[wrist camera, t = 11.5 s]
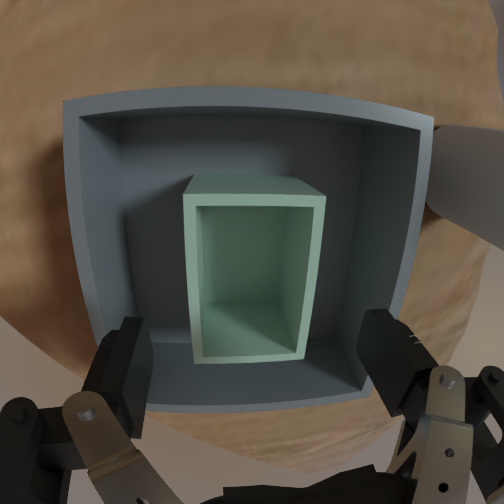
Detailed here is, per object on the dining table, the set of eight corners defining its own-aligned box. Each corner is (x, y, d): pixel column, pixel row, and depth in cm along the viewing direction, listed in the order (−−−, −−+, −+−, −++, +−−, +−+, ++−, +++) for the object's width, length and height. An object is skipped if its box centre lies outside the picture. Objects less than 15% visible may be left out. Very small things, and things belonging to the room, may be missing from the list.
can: (435, 232, 22) (541, 304, 11) (395, 157, 19) (531, 200, 8) (484, 180, 21) (589, 224, 10) (453, 106, 18) (578, 121, 7)
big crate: (114, 108, 16) (63, 101, 10) (370, 117, 18) (433, 117, 12) (137, 343, 23) (119, 408, 16) (338, 337, 25) (368, 396, 18)
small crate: (194, 174, 18) (183, 193, 12) (293, 175, 18) (326, 196, 13) (198, 305, 21) (194, 363, 15) (283, 303, 22) (303, 359, 16)
